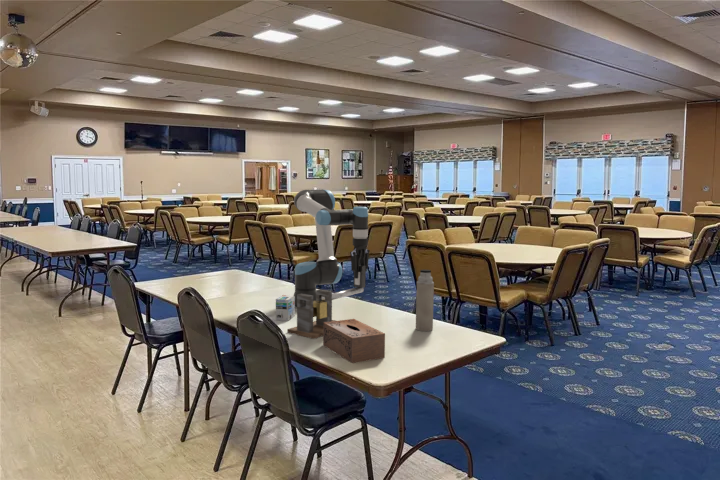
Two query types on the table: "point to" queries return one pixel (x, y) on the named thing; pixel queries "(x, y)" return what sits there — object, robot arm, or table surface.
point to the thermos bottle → (424, 301)
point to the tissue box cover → (354, 340)
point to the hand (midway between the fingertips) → (359, 283)
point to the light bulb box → (285, 307)
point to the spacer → (319, 309)
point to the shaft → (351, 291)
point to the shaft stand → (311, 315)
